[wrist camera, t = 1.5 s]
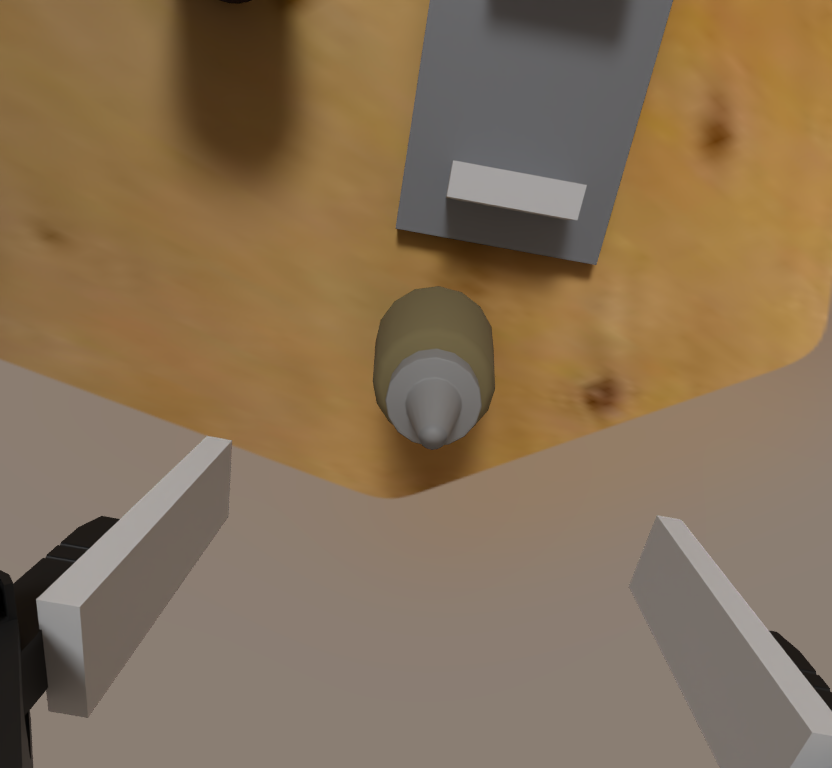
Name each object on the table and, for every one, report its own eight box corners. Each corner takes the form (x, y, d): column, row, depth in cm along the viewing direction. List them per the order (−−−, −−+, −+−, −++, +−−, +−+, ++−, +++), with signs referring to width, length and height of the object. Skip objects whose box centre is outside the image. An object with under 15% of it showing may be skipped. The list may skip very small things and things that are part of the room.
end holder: (396, 227, 35) (391, 230, 30) (452, -136, 28) (454, -201, 23) (591, 263, 35) (613, 270, 30) (691, -89, 28) (739, -145, 24)
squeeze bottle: (493, 282, 36) (545, 347, 19) (482, 386, 38) (519, 526, 21) (382, 275, 36) (334, 334, 19) (379, 380, 38) (335, 514, 22)
